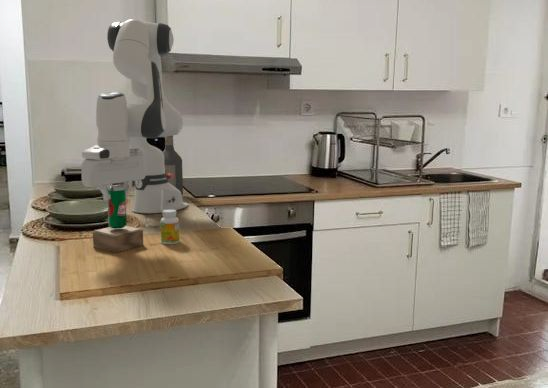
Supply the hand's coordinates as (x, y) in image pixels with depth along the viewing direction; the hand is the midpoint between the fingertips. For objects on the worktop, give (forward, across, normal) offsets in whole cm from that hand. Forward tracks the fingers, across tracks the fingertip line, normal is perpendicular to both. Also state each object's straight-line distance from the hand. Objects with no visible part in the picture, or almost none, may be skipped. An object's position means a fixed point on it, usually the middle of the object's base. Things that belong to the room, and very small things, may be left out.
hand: (116, 198), depth 160 cm
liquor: (+14, -68, -48) cm, 84 cm away
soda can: (+8, 0, 0) cm, 9 cm away
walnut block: (+14, 0, 0) cm, 14 cm away
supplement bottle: (+14, -12, +9) cm, 21 cm away
